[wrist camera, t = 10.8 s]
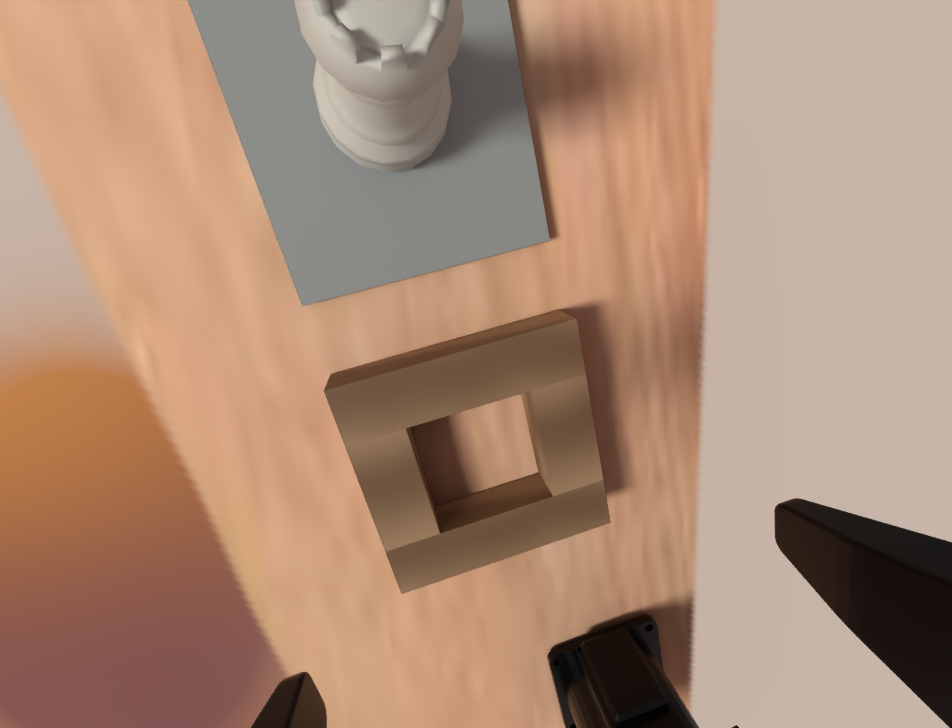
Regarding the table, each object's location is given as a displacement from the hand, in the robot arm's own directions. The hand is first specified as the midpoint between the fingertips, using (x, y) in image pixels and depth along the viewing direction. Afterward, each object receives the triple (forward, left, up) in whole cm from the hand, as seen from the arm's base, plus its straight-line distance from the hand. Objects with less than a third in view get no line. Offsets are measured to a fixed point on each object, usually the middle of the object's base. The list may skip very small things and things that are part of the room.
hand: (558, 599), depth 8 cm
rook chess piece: (+11, 0, -12) cm, 16 cm away
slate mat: (+11, 0, -12) cm, 16 cm away
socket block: (-3, 0, -12) cm, 12 cm away
